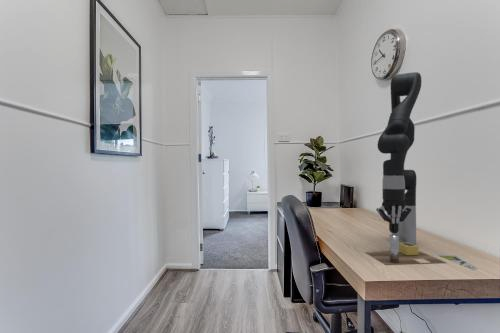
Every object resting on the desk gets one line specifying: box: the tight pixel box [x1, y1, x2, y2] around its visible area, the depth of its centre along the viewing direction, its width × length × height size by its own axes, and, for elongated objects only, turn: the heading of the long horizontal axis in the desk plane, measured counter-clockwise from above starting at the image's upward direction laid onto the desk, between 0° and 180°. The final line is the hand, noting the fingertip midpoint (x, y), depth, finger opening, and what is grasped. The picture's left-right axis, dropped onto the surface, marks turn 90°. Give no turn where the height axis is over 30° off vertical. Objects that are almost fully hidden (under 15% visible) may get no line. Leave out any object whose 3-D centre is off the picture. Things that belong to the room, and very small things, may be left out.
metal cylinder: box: [389, 233, 399, 263], centre depth 92 cm, size 3×3×9 cm
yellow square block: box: [399, 243, 419, 255], centre depth 101 cm, size 5×5×4 cm
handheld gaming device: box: [434, 253, 478, 270], centre depth 97 cm, size 9×1×15 cm
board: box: [364, 250, 447, 266], centre depth 97 cm, size 14×22×2 cm, turn 95°
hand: (393, 232), depth 102 cm, fingers closed
